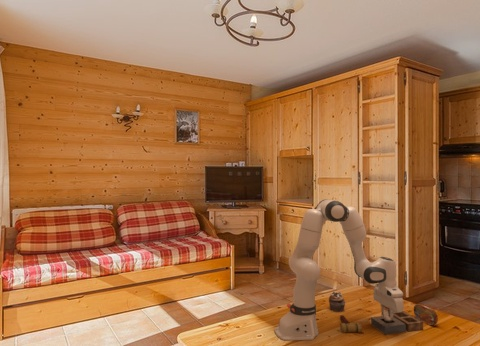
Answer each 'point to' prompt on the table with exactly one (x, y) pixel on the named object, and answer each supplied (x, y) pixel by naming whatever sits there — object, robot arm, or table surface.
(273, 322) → the table surface
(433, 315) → the tin
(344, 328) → the gavel
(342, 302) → the cupcake
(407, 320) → the tool rack
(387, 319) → the round peg
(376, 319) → the socket block
